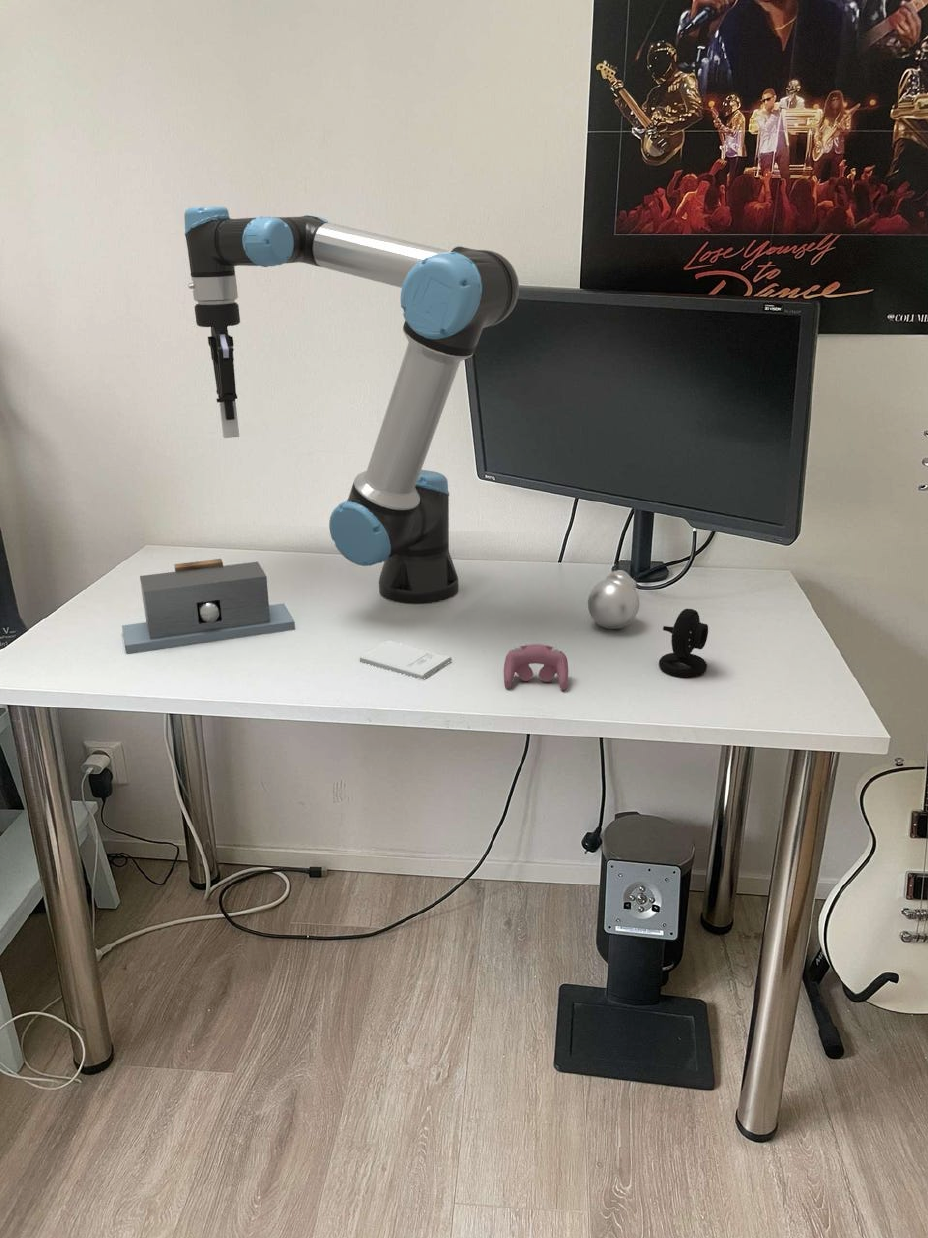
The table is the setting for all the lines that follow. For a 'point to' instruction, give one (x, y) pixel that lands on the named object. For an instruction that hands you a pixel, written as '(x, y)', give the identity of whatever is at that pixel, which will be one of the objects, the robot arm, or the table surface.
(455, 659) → the table surface
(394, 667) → the external hard drive
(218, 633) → the housing
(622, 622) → the silver bulbous ornament
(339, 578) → the table surface
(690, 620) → the webcam
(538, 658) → the video game controller
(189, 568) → the brown wooden block
